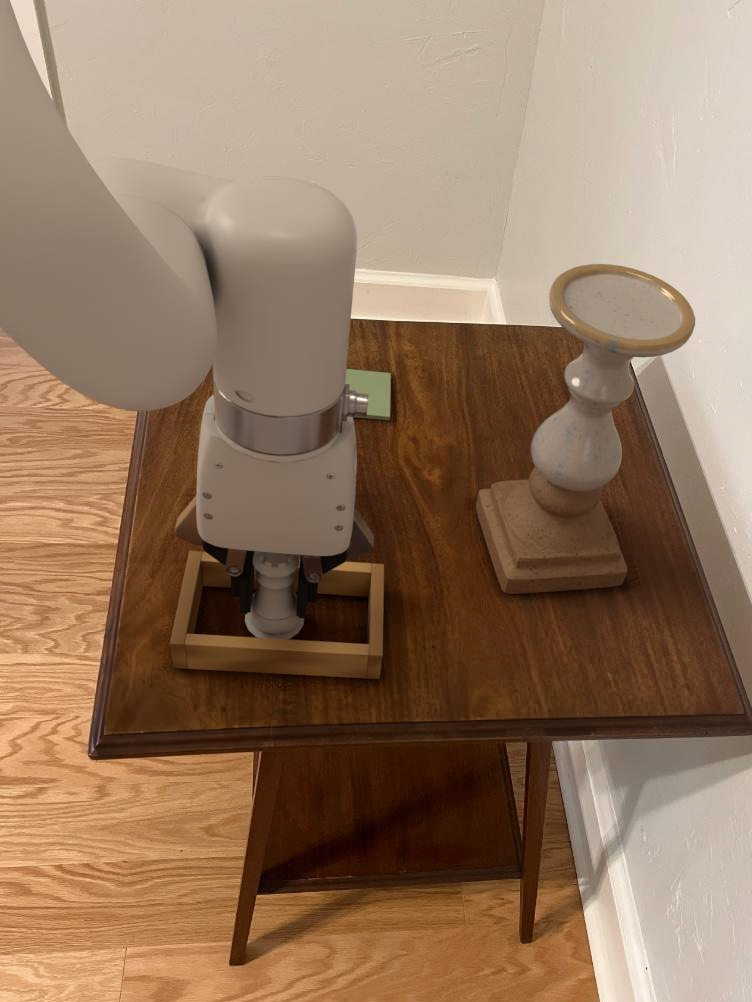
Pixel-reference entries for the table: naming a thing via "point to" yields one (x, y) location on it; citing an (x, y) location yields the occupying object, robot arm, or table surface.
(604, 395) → the candle holder
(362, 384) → the mat
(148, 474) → the table surface
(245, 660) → the rectangular wooden frame
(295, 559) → the rook chess piece
